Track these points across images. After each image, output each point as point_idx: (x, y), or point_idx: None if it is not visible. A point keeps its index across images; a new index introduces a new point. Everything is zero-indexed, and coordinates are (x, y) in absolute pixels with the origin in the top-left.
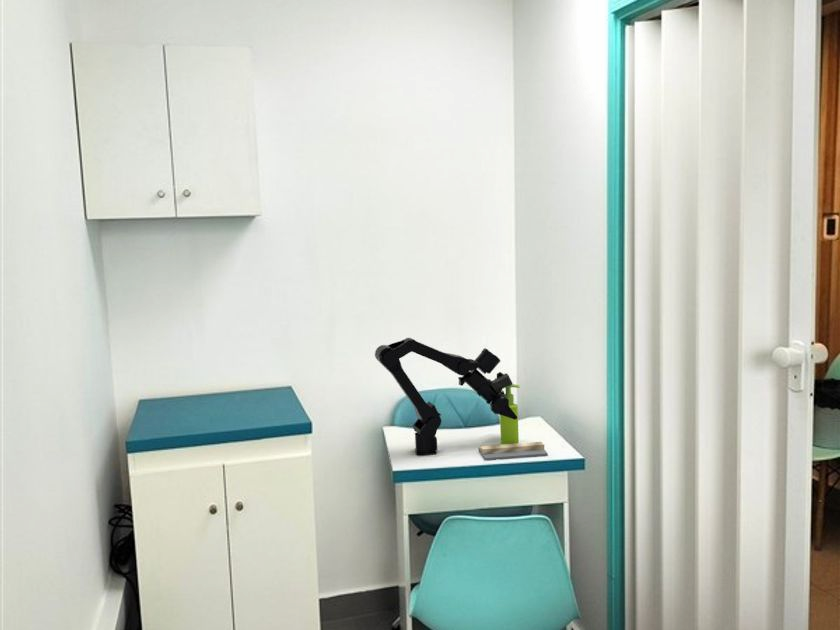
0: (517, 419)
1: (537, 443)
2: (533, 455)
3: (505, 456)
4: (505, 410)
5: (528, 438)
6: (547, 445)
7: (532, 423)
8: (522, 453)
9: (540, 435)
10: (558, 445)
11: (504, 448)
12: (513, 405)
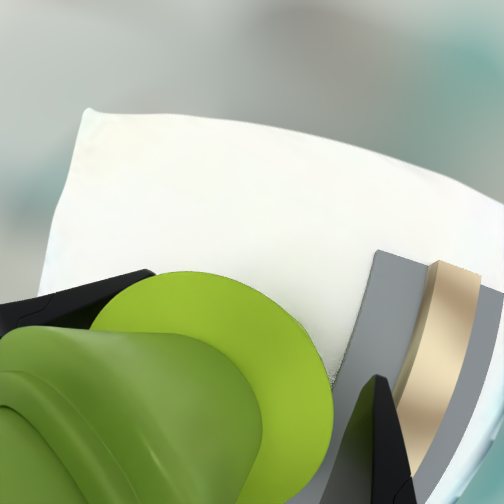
0: (302, 327)
1: (456, 295)
2: (489, 355)
3: (444, 470)
4: None
5: (241, 228)
6: (386, 214)
7: (105, 133)
8: (461, 395)
9: (234, 162)
10: (404, 177)
11: (414, 469)
12: (280, 394)
